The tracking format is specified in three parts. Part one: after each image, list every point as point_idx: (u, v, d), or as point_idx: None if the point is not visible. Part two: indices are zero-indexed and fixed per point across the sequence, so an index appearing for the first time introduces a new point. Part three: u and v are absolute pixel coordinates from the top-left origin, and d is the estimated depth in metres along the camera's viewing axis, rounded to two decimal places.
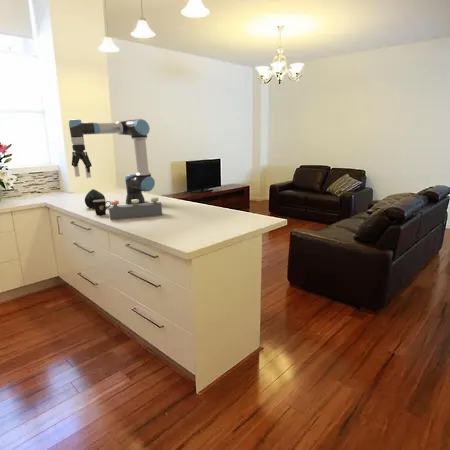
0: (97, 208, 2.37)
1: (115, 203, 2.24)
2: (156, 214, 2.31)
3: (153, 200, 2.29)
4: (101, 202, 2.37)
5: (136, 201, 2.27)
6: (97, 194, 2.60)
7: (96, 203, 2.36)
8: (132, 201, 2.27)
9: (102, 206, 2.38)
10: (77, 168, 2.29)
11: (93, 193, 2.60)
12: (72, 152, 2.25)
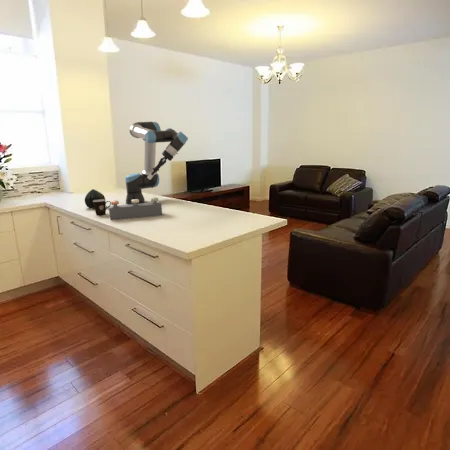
0: (97, 208, 2.37)
1: (115, 203, 2.24)
2: (156, 214, 2.31)
3: (153, 200, 2.29)
4: (101, 202, 2.37)
5: (136, 201, 2.27)
6: (97, 194, 2.60)
7: (96, 203, 2.36)
8: (132, 201, 2.27)
9: (102, 206, 2.38)
10: None
11: (93, 193, 2.60)
12: (165, 160, 2.19)
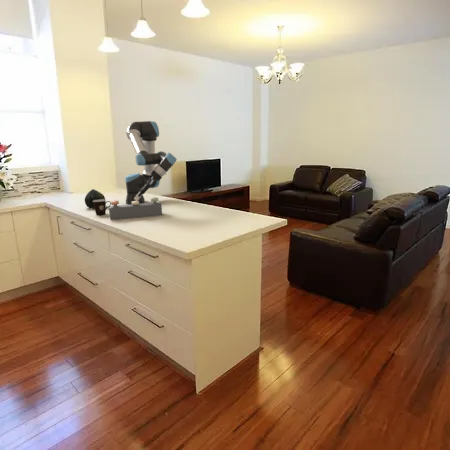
0: (97, 208, 2.37)
1: (115, 203, 2.24)
2: (156, 214, 2.31)
3: (153, 200, 2.29)
4: (101, 202, 2.37)
5: (136, 203, 2.27)
6: (97, 194, 2.60)
7: (96, 203, 2.36)
8: (132, 203, 2.27)
9: (102, 206, 2.38)
10: None
11: (93, 193, 2.60)
12: (152, 184, 2.23)
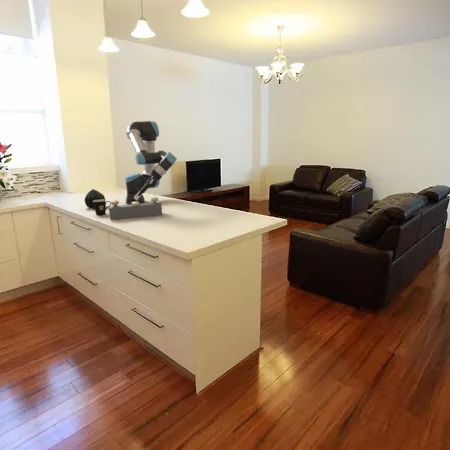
0: (97, 208, 2.37)
1: (115, 203, 2.24)
2: (156, 214, 2.31)
3: (153, 200, 2.29)
4: (101, 202, 2.37)
5: (136, 203, 2.27)
6: (97, 194, 2.60)
7: (96, 203, 2.36)
8: (132, 203, 2.27)
9: (102, 206, 2.38)
10: None
11: (93, 193, 2.60)
12: (152, 183, 2.23)
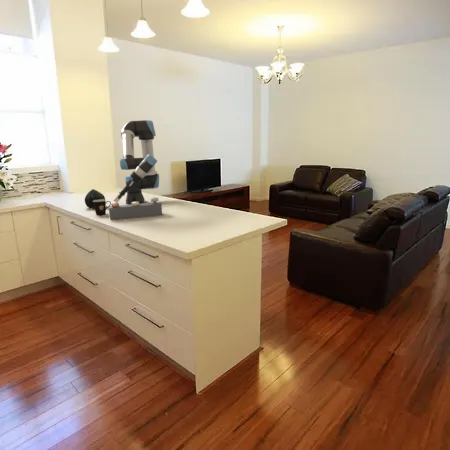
0: (97, 208, 2.37)
1: (115, 205, 2.24)
2: (156, 214, 2.31)
3: (153, 200, 2.29)
4: (101, 202, 2.37)
5: (136, 203, 2.27)
6: (97, 194, 2.60)
7: (96, 203, 2.36)
8: (132, 203, 2.27)
9: (102, 206, 2.38)
10: None
11: (93, 193, 2.60)
12: (132, 185, 2.20)
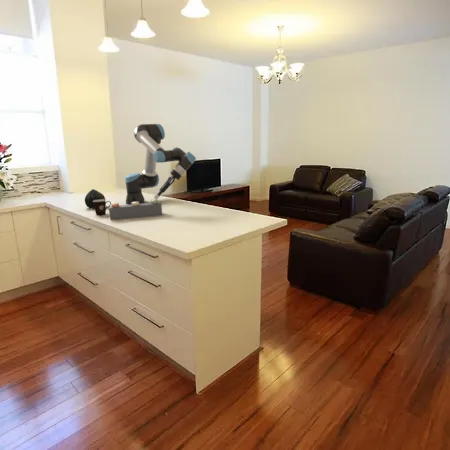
0: (97, 208, 2.37)
1: (115, 205, 2.24)
2: (156, 214, 2.31)
3: (153, 202, 2.30)
4: (101, 202, 2.37)
5: (136, 203, 2.27)
6: (97, 194, 2.60)
7: (96, 203, 2.36)
8: (132, 203, 2.27)
9: (102, 206, 2.38)
10: None
11: (93, 193, 2.60)
12: None
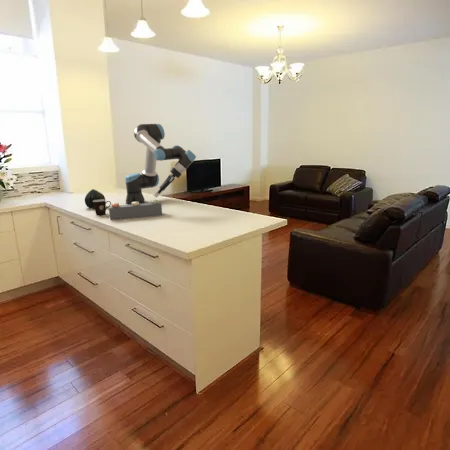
0: (97, 208, 2.37)
1: (115, 205, 2.24)
2: (156, 214, 2.31)
3: (153, 202, 2.30)
4: (101, 202, 2.37)
5: (136, 203, 2.27)
6: (97, 194, 2.60)
7: (96, 203, 2.36)
8: (132, 203, 2.27)
9: (102, 206, 2.38)
10: None
11: (93, 193, 2.60)
12: None
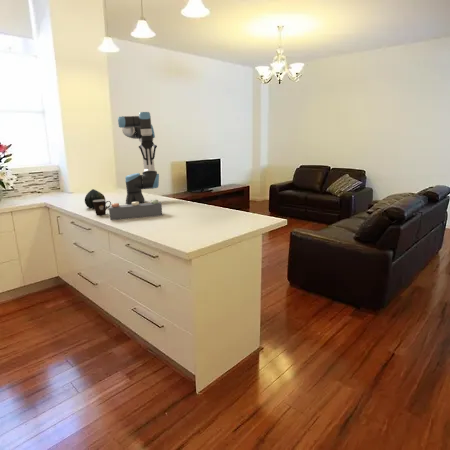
0: (97, 208, 2.37)
1: (115, 205, 2.24)
2: (156, 214, 2.31)
3: (153, 202, 2.30)
4: (101, 202, 2.37)
5: (136, 203, 2.27)
6: (97, 194, 2.60)
7: (96, 203, 2.36)
8: (132, 203, 2.27)
9: (102, 206, 2.38)
10: None
11: (93, 193, 2.60)
12: (139, 146, 2.35)
